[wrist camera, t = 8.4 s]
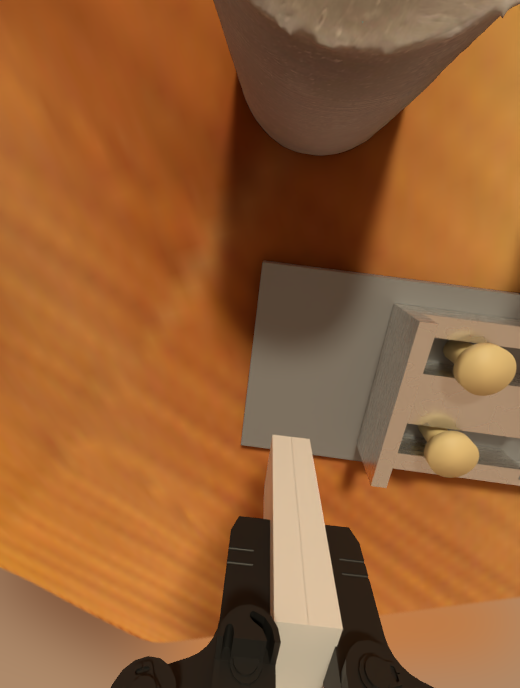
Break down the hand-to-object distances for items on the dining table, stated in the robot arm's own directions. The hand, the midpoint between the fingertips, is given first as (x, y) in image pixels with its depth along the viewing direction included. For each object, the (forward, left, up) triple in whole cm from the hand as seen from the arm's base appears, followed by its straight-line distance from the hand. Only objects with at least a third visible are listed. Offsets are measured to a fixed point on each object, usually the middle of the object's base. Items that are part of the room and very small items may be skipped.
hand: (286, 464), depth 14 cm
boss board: (+12, 0, -12) cm, 16 cm away
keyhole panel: (+15, 0, -10) cm, 18 cm away
